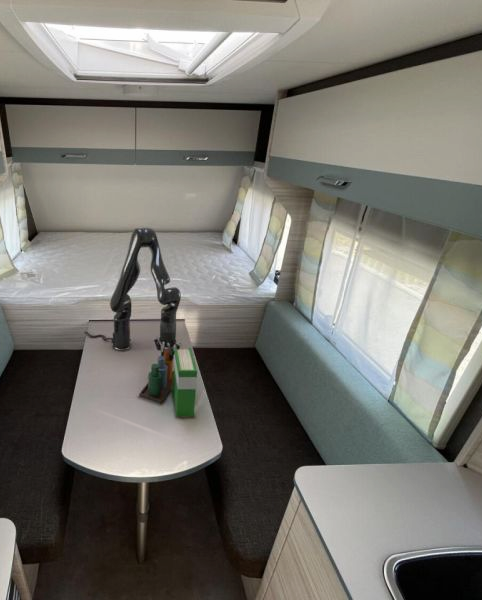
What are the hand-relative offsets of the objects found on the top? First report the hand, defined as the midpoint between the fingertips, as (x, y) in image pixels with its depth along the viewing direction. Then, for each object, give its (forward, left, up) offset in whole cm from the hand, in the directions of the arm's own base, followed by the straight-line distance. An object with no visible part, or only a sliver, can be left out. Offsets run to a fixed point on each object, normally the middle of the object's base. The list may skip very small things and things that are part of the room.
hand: (167, 358), depth 160 cm
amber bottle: (0, 0, -11) cm, 11 cm away
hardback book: (+14, -13, -12) cm, 22 cm away
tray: (0, -7, -12) cm, 14 cm away
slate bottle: (0, -7, -11) cm, 13 cm away
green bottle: (0, -14, -11) cm, 18 cm away
